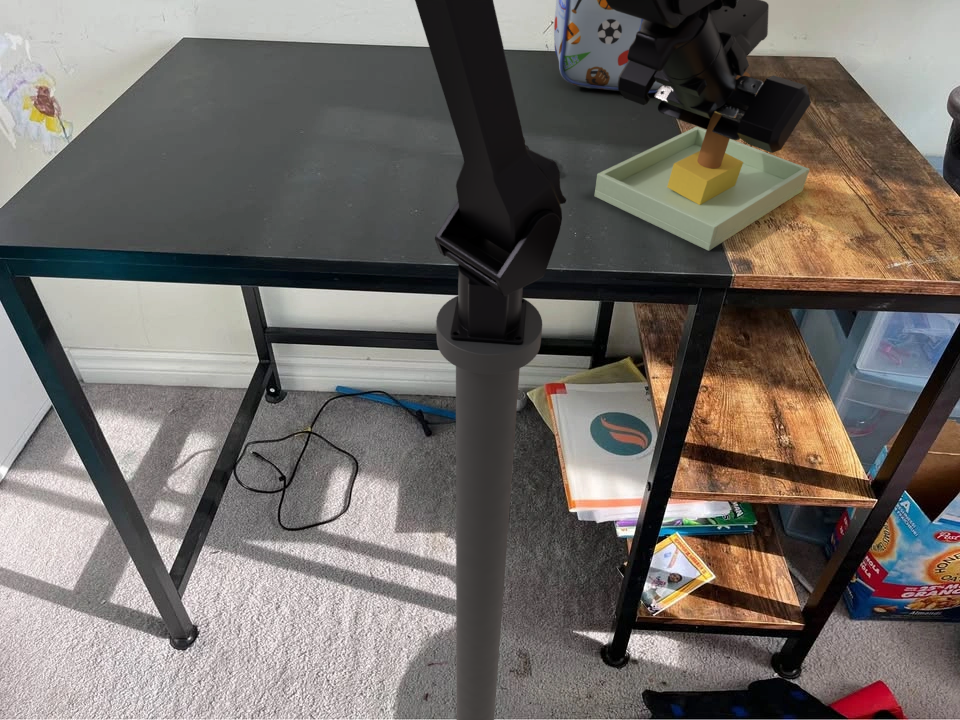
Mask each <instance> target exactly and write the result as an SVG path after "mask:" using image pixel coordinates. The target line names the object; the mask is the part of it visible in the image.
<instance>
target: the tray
mask: <svg viewBox="0 0 960 720" xmlns="http://www.w3.org/2000/svg"><path fill="white" fill-rule="evenodd" d="M705 134H706V129H704V128H701V127H698V126H695V127H693V128H691V129H689V130H686V131H684V132H682V133H680V134H677V135H676V136H674V137H672V138H669V139H667V140H665V141H663V142H661V143H659V144H657V145H655V146H653V147H651V148H648V149H646V150H643V151H642V152H640V153H638V154H636V155H634V156H632V157H630V158H628V159H626V160H623V161H621V162H619V163H616V164H615V165H613V166H611V167H609V168H607V169H604V170H603V171H601V172H598V173H597V174H596V182H595V188H594V189H595V190H594V194H593V195H594V197H595V198H597V199H598V200H601V201H603V202H606V203H608V204H609V205H612V206H614V207H616V208H618V209H620V210H622V211H624V212H626V213H628V214H630V215H633V216H635V217H637V218H638V219H641V220H643V221H645V222H647V223H649V224H652V225H653V226H656V227H658V228H659V229H662V230H664V231H666V232H667V233H670V234H672V235H674V236H677V237H678V238H680V239H683V240H685V241H686V242H689V243H691V244H693V245H695V246H697V247H700V248H702V249H704V250H706V251H711V250H712V249H714V248H716V247H718V246H719V245H720V244H722V243H724V242H726V241H727V240H728V239H730V238H731V237H733V236H734V235H736V234H738V233H739V232H740V231H742V230H744V229H745V228H747V227H748V226H750V225H752V224H753V223H756V221H758V220H759V219H761V218H763V217H764V216H766V215H768V214H769V213H771V212H772V211H773V210H775V209H776V208H779V207H780V206H782V205H783V204H784V203H786V202H788V201H789V200H791V199H793V198H795V196H797V195H799V194H800V193H801V192H803V191H804V187H805V184H806V182H807V179H808V176H809V173H810V168H809V167H807V166H803V165H801V164H798V163H795V162H792V161H791V160H787V159H784V158H783V157H779V156H776V155H774V154H772V153H770V152H767V151H765V150H762V149H759V148H757V147H754V146H751V145H749V144H745V143H742V142H740V141H738V140H732V139H730V140H729V143H728V146H727V148H726V151H725V153H726V154H728V155H730V156H732V157H734V158H736V159H738V160H740V161H742V162H743V165H742V168H741V170H740V173H739V176H738V179H737V182H736V184H735V186H733V187H731V188H730V189H728V190H726V191H724V192H722V193H721V194H719V195H717V196H715V197H713V198H712V199H710V200H708V201H706V202H705V203H703V204H701V205H698V204H697V203H695V202H693V201H691V200H689V199H688V198H686V197H684V196H682V195H680V194H678V193H677V192H675V191H673V190H671V189H669V188H668V187H667V186H668V182H669V179H670V175H671V172H672V168H673V165H674V163H676V162H678V161H680V160H682V159H684V158H686V157H688V156H690V155H692V154H694V153H696V152H698V151H700V150H701V146H702V143H703V140H704V137H705Z"/></svg>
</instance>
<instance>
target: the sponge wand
mask: <svg viewBox="0 0 960 720" xmlns="http://www.w3.org/2000/svg"><path fill="white" fill-rule="evenodd" d="M743 76H748V77H751V74H750V73H749V72H747V71H745V73H744V74H743ZM739 77H741V76H739V75H737V77H736V78H735V80H736V79H738V78H739ZM734 90H735V89H734ZM721 116H722V115H720V114H718V113H715V112H714V114H713V115H712V117H711V118H710V121H709V124H708V127H707V130H706V129H705V130H706V134H705V137H704V140H703V143H702V146H701V150H700V151H698V152H696V153H694V154H692V155H690V156H688V157H686V158H684V159H682V160H680V161H678V162H676V163H674V165H673V168H672V172H671V175H670V179H669V182H668V186H667V187H668V188H669V189H671V190H673V191H675V192H677V193H678V194H680V195H682V196H684V197H686V198H688V199H689V200H691V201H693V202H695V203H697V204H698V205H701V204H703V203H705V202H706V201H708V200H710V199H712V198H713V197H715V196H717V195H719V194H721V193H722V192H724V191H726V190H728V189H730V188H731V187H733V186H735V184H736V182H737V179H738V176H739V173H740V170H741V168H742V165H743V162H742V161H740V160H738V159H736V158H734V157H732V156H730V155H728V154H726V153H725V151H726V148H727V146H728V143H729V140H730V138H727V137H724V136H721V135H719V134H716V133H713V132H712V130H713V129H714V127H715V125H716V124H717V122H718V121H719V119H720V118H721Z"/></svg>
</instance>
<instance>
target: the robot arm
mask: <svg viewBox="0 0 960 720" xmlns="http://www.w3.org/2000/svg"><path fill="white" fill-rule="evenodd" d="M414 2H415V4H416V8H417V11H418V15H419V18H420V21H421V24H422V27H423V31H424V34H425V38H426V41H427V44H428V47H429V50H430V54H431V57H432V60H433V63H434V67H435V71H436V74H437V76H438V80H439V83H440V86H441V90H442V93H443V96H444V99H445V103H446V105H447V109H448V113H449V115H450V119H451V122H452V125H453V129H454V132H455V135H456V138H457V141H458V145H459V149H460V151H461V154H462V158H463V164H462V166H461V169H460V171H459V174H458V176H457V180H456V183H455V184H456V185H455V189H456V195H457V202H456V204H454V206H453V208H452V209H451V211H450V213H449V214H448V216H447V217H446V219H445V221H444V222H443V223H442V225H441V226H440V228H439V230H438V232H437V233H436V234H435V236H434V241H435V244H436V246H437V249H438V251H439V253H440V254H441V255H442V256H444V257H447V258H449V259H450V260H452V261H453V262H454V263H456V264H457V265H458V266H457V267H458V268H457V271H458V272H457V273H458V274H457V276H458V280H457V281H458V283H457V288H458V289H457V290H458V291H457V293H458V294H457V296H458V297H457V302H456V307H455V313H454V318H453V323H452V328H451V333H450V337H451V339H452V340H455V341H467V342H480V343H494V344H507V345H521V344H523V340H524V327H525V314H526V300H527V299H526V298H524V297H523V292H524V288H525V287H526V286H529V285H531V284H533V283H535V282H538V280H540V279H542V278H544V276H545V274H546V271H547V269H548V266H549V263H550V260H551V258H552V254H553V251H554V249H555V247H556V244H557V241H558V238H559V235H560V231H561V226H562V221H563V208H562V205H563V204H566V202H567V198H566V197H565V196H564V195H563V191H562V189H561V172H560V170H559V169H560V168H559V166H558V164H557V162H556V161H554V160H552V159H550V158H548V157H546V156H544V155H541V154H540V153H538V152H536V151H534V150H532V149H530V148H529V147H528V148H529V149H528V148H526V146H525V145H526V141H525V142H524V139H525V137H524V132H523V129H522V128H523V127H522V125H521V120H520V119H521V118H520V115H519V110H518V106H517V101H516V98H515V93H514V88H513V83H512V79H511V75H510V71H509V65H508V61H507V57H506V52H505V47H504V42H503V38H502V33H501V30H500V25H499V21H498V17H497V12H496V8H495V7H496V6H495V4H494V0H414ZM606 2H607V3H608V5H609V6H610V8H612V9H614V10H616V11H618V12H621V13H625V14H628V15H631V16H634V17H637V18H640V19H643V21H642V24H641V29H640V31H638V32H637V33H636V38H635V40H634V41H633V43H632V44H631V46H630V48H629V52H628V56H627V58H628V62H627V64H626V65H625V67H624V69H623V70H622V72H621V74H620V75H619V78H618V89H619V91H618V92H619V93H620V94H621V95H622V97H623V99H626V100H628V101H631V102H634V103H636V104H639V105H642V106H645V105H647V104H648V103H649V102H650V100H651V97H650V96H649V93H648V92H649V91H650V89H651V88H652V86H653V84H654V83H655V81H656V82H658V83H661V84H663V85H661V86H660V87H659V88H658V90H657V92H656V93H654V95H653V96H654V98H655V99H656V100H659V101H660V102H659V103H658V106H657V111H658V112H659V113H660V114H663V115H666V116H668V117H671V118H673V119H676V120H679V121H681V122H685V123H687V124H690V125H693V126H695V127H700V128H702V129H705V130H707V127H708V124H709V121H710V118H711V117H712V115H713V114H714V112H715V113H718V114H720V115H722V116H721V118H720V119H719V121H718V122H717V124H716V125H715V127H714V129H713V130H712V132H713V133H716V134H719V135H721V136H724V137H727V138H730V139H732V140H734V141H739V140H742V141H743V142H744V143H746V145H748V146H751V147H753V148H756V149H759V150H762V151H764V152H767V153H770V154H773V153H776V152H779V151H781V150H782V149H783V148H784V147H785V144H786V143H787V141H788V140H789V138H790V137H791V135H792V133H793V132H794V131H795V129H796V127H797V125H798V124H799V122H801V119H802V118H803V116H804V115H805V113H806V111H807V110H808V108H809V106H810V105H811V104H812V100H811V96H810V93H809V89H808V86H807V85H806V84H803V83H800V82H797V81H793V80H790V79H786V78H784V77H781V76H777V75H771V76H769V77H767V78H765V80H764V81H762V80H761V79H758V78H754V77H751V76H750V77H748V76H743V74H744V73H745V72H747V70H748V68H749V66H750V64H749V61H748V58H747V57H748V56H749V55H750V54H751V53H752V52H753V50H755V48H756V47H757V46H759V44H760V43H761V42H762V41H765V39H766V38H767V37H768V35H769V30H768V29H769V9H770V8H769V6H770V5H769V3H768V2H767V1H765V0H606ZM737 75H739V76H741V77H739V78H738V79H736V80H735V78H736V77H737ZM734 89H735V90H734ZM523 298H524V299H523Z"/></svg>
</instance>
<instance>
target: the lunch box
mask: <svg viewBox="0 0 960 720" xmlns="http://www.w3.org/2000/svg"><path fill="white" fill-rule="evenodd" d="M642 21H643V19H640V18H637V17H634V16H631V15H628V14H625V13H621V12H618V11H616V10H614V9H612V8H610V6H609V5H608V3H607V2H606V0H555V11H554V23H553V41H554V51H555V55H556V57H557V60H558V68H559V73H560V76H561V77H562V79H563V80H565V81H566V82H567V83H568V84H571V85H572V86H573V85H574V86H576V87H581V88H585V89H596V90H597V89H598V90H605V91H613V92H615V91H616V92H620V91H619V89H618V78H619V75H620V74H621V72H622V70H623V69H624V67H625V65H626V64H627V62H628V58H627V56H628V52H629V48H630V46H631V44H632V43H633V41H634V40H635V38H636V33H637V32H638V31H640V29H641V24H642ZM661 85H663V84H661V83H658V82H656V81H655V83H654V84H653V86H652V88H651V89H650V91H649V92H648V94H655V93H656V92H657V90H658V88H659V87H660V86H661Z"/></svg>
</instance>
